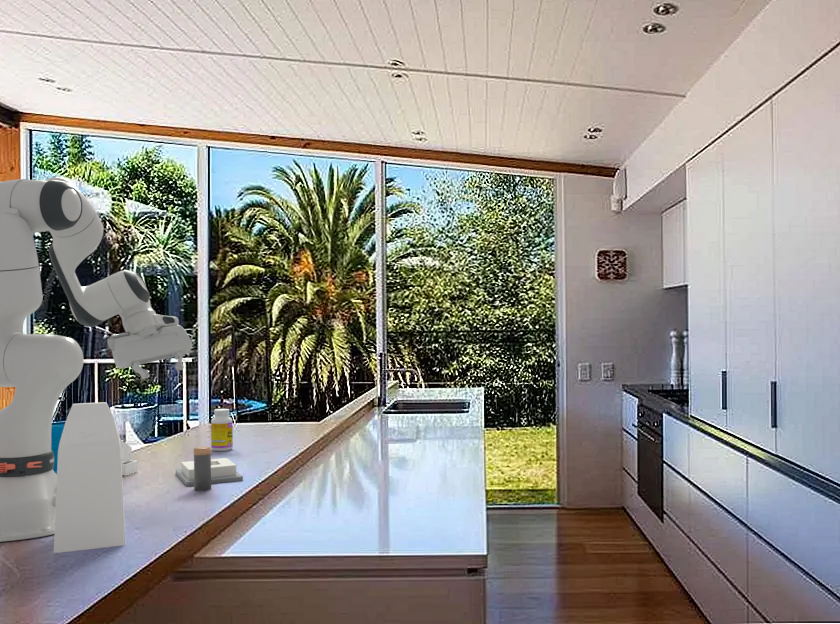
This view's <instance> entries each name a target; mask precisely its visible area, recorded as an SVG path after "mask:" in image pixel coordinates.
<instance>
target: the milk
mask: <svg viewBox="0 0 840 624" xmlns="http://www.w3.org/2000/svg"><path fill="white" fill-rule="evenodd" d="M60 436H61V437H60V439H59V443H58V449H57V466H56V467H57V469H56V474H57V486H56V510H55V534H53V535H54V539H53V541H54V542H53V554H59V553H67V552H69V553H70V552H77V551H85V550H94V549H95V550H96V549H103V548H104V549H105V548H111V547H112V548H113V547H120V546H121V547H122V546H126V522H125V521H126V520H125V505H124V487H123V486H124V485H123V482H124V481H123V476H122V463H121V445H120V440H121V437H120V432H119V429H118V425H117V422H116V420H115V416H114V414H113V412H112V410H111V408H110V407H109V404H108V403H107V402H106V401H105V402H100V401H99V402H86V403H85V402H83V403H82V402H81V403H72V405H71V408H70V410H69V411H68V415H67V417H66V420H65V423H64V426H63V430H62V431H61V435H60Z"/></svg>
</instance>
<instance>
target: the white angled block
mask: <svg viewBox="0 0 840 624" xmlns="http://www.w3.org/2000/svg"><path fill="white" fill-rule="evenodd" d="M120 445H121V463H122V475H128V474H131V473H133V474H135V473H134V472H136V473H138V472H139V465H138V464H139V462H138V460H136V459H135V460H133V458H132V457H133V455H132V452H133V451H132V449H133V448H132V447H131V445H129V444H127V443H126V442H125V441H123V440H122V439H120ZM137 471H138V472H137ZM131 475H132V474H131ZM128 476H129V475H128Z"/></svg>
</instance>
